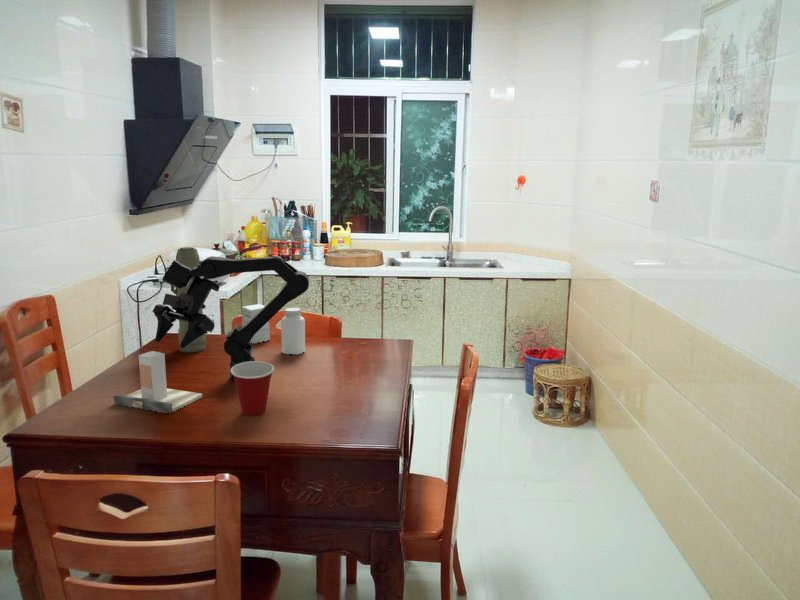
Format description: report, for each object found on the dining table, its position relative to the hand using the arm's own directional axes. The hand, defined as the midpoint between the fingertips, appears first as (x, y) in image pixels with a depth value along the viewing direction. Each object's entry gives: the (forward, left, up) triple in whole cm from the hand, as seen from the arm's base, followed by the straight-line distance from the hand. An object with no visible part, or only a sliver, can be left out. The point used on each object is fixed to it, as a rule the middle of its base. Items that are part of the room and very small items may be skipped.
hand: (168, 344), depth 173 cm
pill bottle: (-12, -47, -14) cm, 50 cm away
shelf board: (-2, +7, -13) cm, 15 cm away
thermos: (+22, -37, -14) cm, 45 cm away
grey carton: (-1, +8, -12) cm, 15 cm away
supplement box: (+8, -55, -14) cm, 57 cm away
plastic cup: (-30, +5, -14) cm, 33 cm away
